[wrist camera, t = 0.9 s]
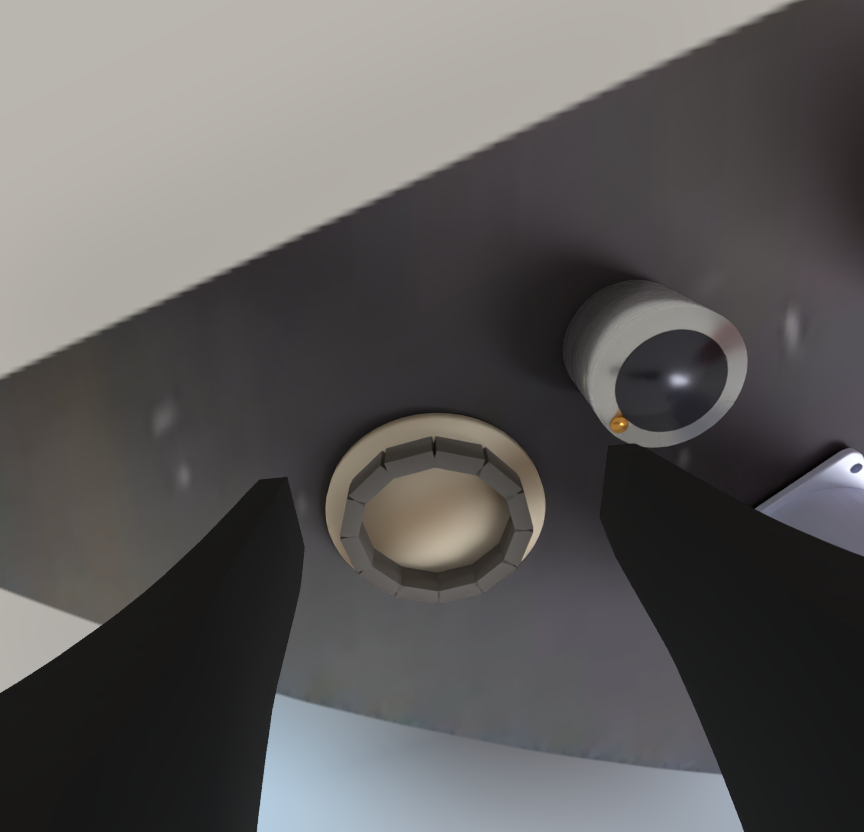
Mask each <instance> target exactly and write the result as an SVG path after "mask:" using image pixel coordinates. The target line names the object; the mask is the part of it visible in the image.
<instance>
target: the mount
mask: <svg viewBox="0 0 864 832" xmlns="http://www.w3.org/2000/svg"><path fill="white" fill-rule="evenodd" d="M325 511H326V522H327V526H328V531H329V534H330V536H331V538H332V541H333V543H334V545H335V547H336V548H337V550H338V552H339V553H340V554H341V556H342V557H343V558H344V559H345V560H346V562H347V563H348V564H349V565H350V566H351V567H353V568H354V569H355V571H356V572H359V576H361V577H363V578H364V579H366V580H367V581H369V582H370V583H372V584H373V585H375V586H376V587H378V588H380V589H381V590H383V591H384V592H386V593H387V594H389V595H390V596H393V595H394V594H395V593H396V597H395V598H401V599H407V600H414V601H420V602H427V603H434V604H437V602H438V599H439V600H440V603H441V604H442V603H447V602H451V601H455V600H459V599H464V598H468V597H472V596H476V595H481V594H482V591H481V590H483V591H484V592H485V593H486V592H487V591H488V590H490V589H491V588H492V587H494V586H495V585H496V584H498V583H499V582H500V581H501V580H503V579H504V578H505V577H507V576H508V575H509V574H511V573H512V572H513V571H515V570H516V569H517V566H520V563H521V561H522V560H523V559H524V558H525V557H526V556H527V555H528V553H529V552H530V550H531V549H532V548H533V546H534V545H535V543H536V541H537V539H538V537H539V535H540V532H541V529H542V526H543V522H544V517H545V495H544V489H543V486H542V483H541V480H540V477H539V474H538V472H537V469H536V467H535V465H534V464H533V462H532V460H531V458H530V457H529V455H528V454H527V453H526V451H525V450H524V449H523V448H522V447H521V446H520V445H519V444H518V443H517V442H516V441H515V440H514V439H513V438H512V437H510V436H509V435H508V434H506V433H505V432H504V431H502V430H500V429H498V428H497V427H495V426H493V425H491V424H489V423H486V422H484V421H481V420H479V419H475V418H472V417H468V416H464V415H458V414H451V413H425V414H416V415H411V416H407V417H402V418H399V419H396V420H393V421H391V422H388V423H386V424H384V425H382V426H380V427H378V428H375V429H374V430H372V431H371V432H369V433H368V434H366V435H365V436H363V437H362V438H361V439H360V440H358V441H357V442H356V443H355V444H354V445H353V446H352V447H351V448H350V449H349V450H348V451H347V452H346V454H345V455H344V456H343V457H342V459H341V461H340V462H339V464H338V465H337V467H336V469H335V471H334V474H333V476H332V478H331V482H330V486H329V490H328V493H327V497H326V508H325Z"/></svg>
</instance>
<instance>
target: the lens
mask: <svg viewBox="0 0 864 832" xmlns="http://www.w3.org/2000/svg"><path fill="white" fill-rule="evenodd" d="M563 359H564V363H565V367H566V370H567V372H568V374H569V376H570V377H571V379H572V380H573V382H574V383H575V385H576V386H577V387H578V389H579V390H580V392H581V393H582V395H583V396H584V397H585V399H586V400H587V402H588V403H589V405H590V406H591V407H592V409H593V410H594V412H595V413H596V415H597V416H598V417H599V419H600V420H601V422H602V423H603V425H604V426H605V427H606V428H607V429H608V430H609V431H610V432H611V433H612V434H613V435H614V436H616V437H617V438H619V439H621V440H622V441H625V442H627V443H629V444H632V443H636V444H638V445H640V446H642V447H666V446H671V445H676V444H679V443H682V442H685V441H687V440H690V439H692V438H694V437H696V436H698V435H700V434H702V433H703V432H705V431H706V430H708V429H709V428H711V427H712V426H713V425H714V424H715V423H717V422H718V421H719V420H720V419H721V418H722V417H723V416H724V415H725V414H726V413H727V411H728V410H729V409H730V408H731V406H732V405H733V404H734V402H735V400H736V399H737V397H738V395H739V393H740V391H741V389H742V387H743V384H744V381H745V377H746V372H747V351H746V347H745V343H744V341H743V339H742V336H741V335H740V333H739V332H738V330H737V329H736V327H735V326H734V325H733V324H732V323H731V322H730V321H728V320H727V319H726V318H724V317H723V316H721V315H719V314H717V313H715V312H713V311H712V310H710V309H708V308H706V307H704V306H702V305H700V304H698V303H696V302H694V301H692V300H690V299H688V298H686V297H684V296H682V295H681V294H679V293H677V292H675V291H673V290H671V289H669V288H667V287H665V286H663V285H661V284H659V283H656V282H653V281H648V280H637V279H635V280H626V281H621V282H617V283H614V284H612V285H609V286H607V287H605V288H603V289H601V290H600V291H598V292H596V293H595V294H593V295H592V296H591V297H590V298H589V299H587V300H586V301H585V302H584V303H583V304H582V305H581V306H580V308H579V309H578V310H577V312H576V313H575V314H574V316H573V318H572V319H571V321H570V323H569V325H568V327H567V330H566V333H565V337H564V342H563Z"/></svg>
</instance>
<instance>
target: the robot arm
mask: <svg viewBox="0 0 864 832" xmlns="http://www.w3.org/2000/svg"><path fill="white" fill-rule="evenodd" d="M853 465H854V466H853ZM852 466H853V467H852ZM600 519H601V521H602V524H603V527H604V529H605V532H606V535H607V537H608V540H609V542H610V545H611V547H612V549H613V552H614V554H615V556H616V558H617V560H618V562H619V564H620V566H621V567H622V569H623V571H624V573H625V574H626V576H627V578H628V580H629V582H630V583H631V585H632V587H633V589H634V591H635V592H636V594H637V596H638V598H639V599H640V601H641V603H642V605H643V606H644V608H645V610H646V612H647V613H648V615H649V617H650V619H651V620H652V622H653V624H654V626H655V627H656V629H657V631H658V633H659V634H660V636H661V638H662V640H663V641H664V643H665V645H666V647H667V649H668V651H669V653H670V655H671V657H672V659H673V661H674V663H675V665H676V667H677V669H678V671H679V674H680V676H681V678H682V680H683V683H684V685H685V687H686V689H687V692H688V694H689V696H690V698H691V701H692V703H693V705H694V707H695V710H696V712H697V714H698V717H699V719H700V721H701V724H702V726H703V729H704V731H705V733H706V736H707V738H708V741H709V743H710V745H711V748H712V750H713V753H714V755H715V757H716V760H717V762H718V765H719V768H720V770H721V773H722V775H723V778H724V780H725V783H726V786H727V788H728V791H729V793H730V796H731V798H732V801H733V804H734V806H735V809H736V811H737V814H738V817H739V819H740V822H741V824H742V827H743V830H744V832H864V457H863V456H862V454H860V453H859V452H857V451H856V450H854V449H852V448H847V449H844V450H842V451H840V452H838V453H837V454H835V455H834V456H832V457H831V458H829V459H828V460H826V461H825V462H823V463H822V464H820V465H819V466H817V467H816V468H814V469H813V470H811V471H810V472H808V473H807V474H805V475H804V476H803V477H801V478H800V479H798V480H797V481H795V482H794V483H792V484H791V485H789V486H788V487H786V488H785V489H783V490H782V491H780V492H779V493H777V494H776V495H774V496H773V497H771V498H770V499H768V500H767V501H765V502H764V503H762V504H761V505H759V506H758V507H756V508H755V509H754V508H752V507H750V506H748V505H746V504H744V503H742V502H740V501H738V500H736V499H734V498H732V497H731V496H729V495H727V494H725V493H723V492H721V491H719V490H718V489H716V488H714V487H712V486H710V485H709V484H707V483H705V482H703V481H702V480H700V479H698V478H696V477H695V476H693V475H691V474H689V473H688V472H686V471H684V470H683V469H681V468H679V467H677V466H676V465H674V464H672V463H670V462H669V461H667V460H665V459H664V458H662V457H660V456H658V455H657V454H655V453H653V452H651V451H649V450H648V449H646V448H644V447H642V446H640V445H638V444H636V443H632V444H622V445H611V446H608V454H607V462H606V470H605V478H604V486H603V494H602V503H601V511H600ZM304 548H305V547H304V543H303V539H302V535H301V531H300V526H299V522H298V518H297V514H296V510H295V506H294V502H293V498H292V494H291V490H290V486H289V482H288V478H287V477H282V478H272V479H262V480H259V481H258V482H257V483H256V484H255V485H254V486H253V487H252V488H251V489H250V490H249V491H248V492H247V493H246V494H245V495H244V496H243V497H242V498H241V499H240V500H239V501H238V503H237V504H236V505H235V506H234V507H233V508H232V509H231V510H230V511H229V512H228V513H227V514H226V515H225V516H224V517H223V518H222V519H221V520H220V521H219V523H218V524H217V525H216V526H215V527H214V528H213V529H212V530H211V531H210V532H209V533H208V534H207V535H206V536H205V537H204V538H203V539H202V540H201V541H200V542H199V543H198V544H197V545H196V546H195V547H194V548H193V549H191V550H190V551H189V552H188V553H187V554H186V555H185V556H184V557H183V558H182V559H181V560H180V561H179V562H178V563H177V564H176V565H174V566H173V567H172V568H171V569H170V570H169V571H168V572H167V573H166V574H165V575H164V576H163V577H161V578H160V579H159V580H158V581H157V582H156V583H155V584H153V585H152V586H151V587H150V588H149V589H148V590H146V591H145V592H144V593H143V594H142V595H140V596H139V597H138V598H137V599H135V600H134V601H133V602H132V603H130V604H129V605H128V606H127V607H125V608H124V609H123V610H122V611H120V612H119V613H118V614H116V615H115V616H114V617H112V618H111V619H110V620H109V621H107V622H106V623H104V624H103V625H102V626H100V627H99V628H97V629H96V630H94V631H93V632H92V633H90V634H89V635H87V636H86V637H85V638H83V639H82V640H80V641H79V642H78V643H76V644H75V645H73V646H72V647H70V648H69V649H68V650H66V651H65V652H63V653H62V654H61V655H59V656H58V657H56V658H55V659H53V660H52V661H50V662H49V663H47V664H46V665H44V666H43V667H41V668H39V669H38V670H36V671H35V672H33V673H32V674H30V675H29V676H27V677H25V678H24V679H22V680H21V681H19V682H18V683H16V684H14V685H13V686H11V687H9V688H8V689H6V690H5V691H3V692H1V693H0V832H257V824H258V815H259V807H260V799H261V790H262V782H263V774H264V765H265V758H266V751H267V744H268V737H269V729H270V722H271V715H272V708H273V703H274V699H275V694H276V688H277V684H278V680H279V676H280V672H281V667H282V663H283V659H284V655H285V651H286V647H287V643H288V639H289V634H290V630H291V626H292V622H293V618H294V614H295V609H296V605H297V601H298V596H299V592H300V586H301V578H302V569H303V559H304Z"/></svg>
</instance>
